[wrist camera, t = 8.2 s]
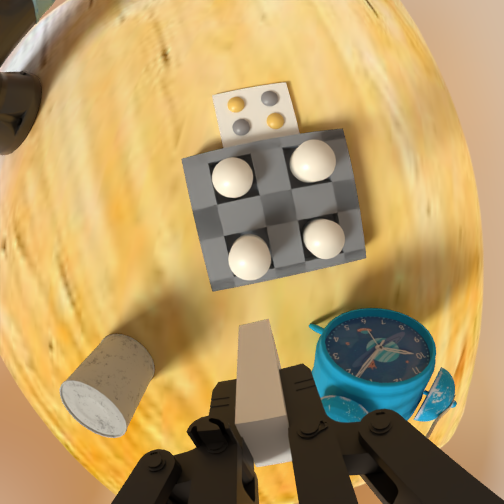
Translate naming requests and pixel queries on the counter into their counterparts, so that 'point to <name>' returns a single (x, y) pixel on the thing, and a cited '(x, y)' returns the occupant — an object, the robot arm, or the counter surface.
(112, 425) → the speckled white tin can
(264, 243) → the button
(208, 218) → the button board
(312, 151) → the button
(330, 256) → the button
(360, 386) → the alarm clock
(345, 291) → the counter surface
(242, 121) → the card
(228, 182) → the button
